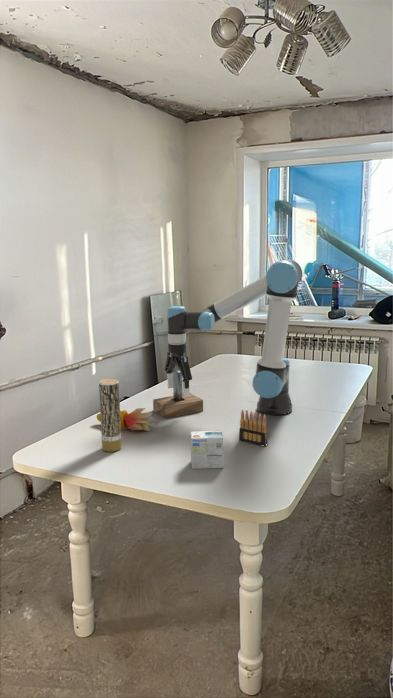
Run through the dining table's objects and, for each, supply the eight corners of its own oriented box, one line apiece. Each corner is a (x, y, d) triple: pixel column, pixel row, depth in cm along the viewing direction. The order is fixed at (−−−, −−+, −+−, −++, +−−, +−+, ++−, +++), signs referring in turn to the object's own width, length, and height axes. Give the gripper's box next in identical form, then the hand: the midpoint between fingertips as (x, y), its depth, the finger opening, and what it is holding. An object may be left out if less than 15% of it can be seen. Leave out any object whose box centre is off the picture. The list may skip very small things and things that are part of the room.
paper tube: (112, 443, 192) (109, 377, 187) (125, 448, 188) (122, 380, 183) (98, 449, 187) (94, 381, 182) (111, 454, 183) (107, 385, 178)
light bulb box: (222, 460, 177) (222, 429, 175) (224, 468, 171) (224, 437, 169) (190, 460, 177) (190, 430, 175) (191, 469, 171) (190, 438, 168)
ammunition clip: (238, 440, 194) (239, 409, 191) (241, 439, 195) (241, 408, 193) (265, 446, 188) (265, 414, 186) (267, 445, 190) (268, 413, 187)
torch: (101, 432, 214) (155, 432, 204) (90, 429, 207) (146, 429, 197) (103, 412, 216) (157, 411, 207) (92, 408, 209) (148, 407, 200)
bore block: (203, 410, 227) (203, 399, 226) (166, 418, 218) (165, 406, 217) (189, 403, 237) (189, 392, 236) (153, 410, 228) (153, 399, 227)
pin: (184, 407, 227) (183, 371, 223) (176, 409, 225) (175, 373, 221) (180, 405, 230) (179, 369, 226) (172, 406, 228) (171, 371, 224)
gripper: (200, 347, 213) (200, 397, 217) (171, 337, 234) (172, 383, 238) (183, 349, 209) (184, 400, 213) (155, 339, 230) (157, 386, 234)
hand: (178, 391), depth 226 cm, fingers open, 13 cm apart
